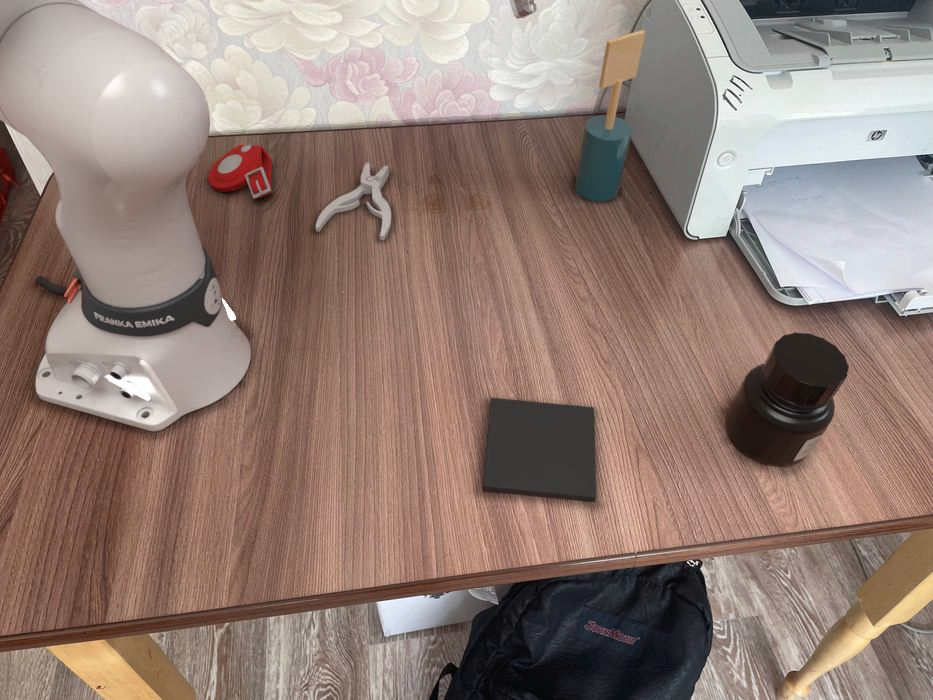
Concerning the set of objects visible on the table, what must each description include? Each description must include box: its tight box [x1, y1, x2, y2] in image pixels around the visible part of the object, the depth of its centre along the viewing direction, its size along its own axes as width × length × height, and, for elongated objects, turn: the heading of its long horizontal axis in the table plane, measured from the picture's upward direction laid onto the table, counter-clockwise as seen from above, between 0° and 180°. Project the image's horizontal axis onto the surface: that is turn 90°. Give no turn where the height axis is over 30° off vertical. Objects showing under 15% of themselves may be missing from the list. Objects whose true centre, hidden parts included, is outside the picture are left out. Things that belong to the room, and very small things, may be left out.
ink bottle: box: [725, 332, 850, 467], centre depth 71 cm, size 10×9×12 cm
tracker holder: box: [207, 144, 273, 200], centre depth 102 cm, size 12×4×10 cm
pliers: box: [315, 162, 392, 241], centre depth 100 cm, size 10×2×15 cm
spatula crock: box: [574, 29, 646, 203], centre depth 96 cm, size 6×6×22 cm
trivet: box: [482, 397, 597, 503], centre depth 73 cm, size 11×11×1 cm
